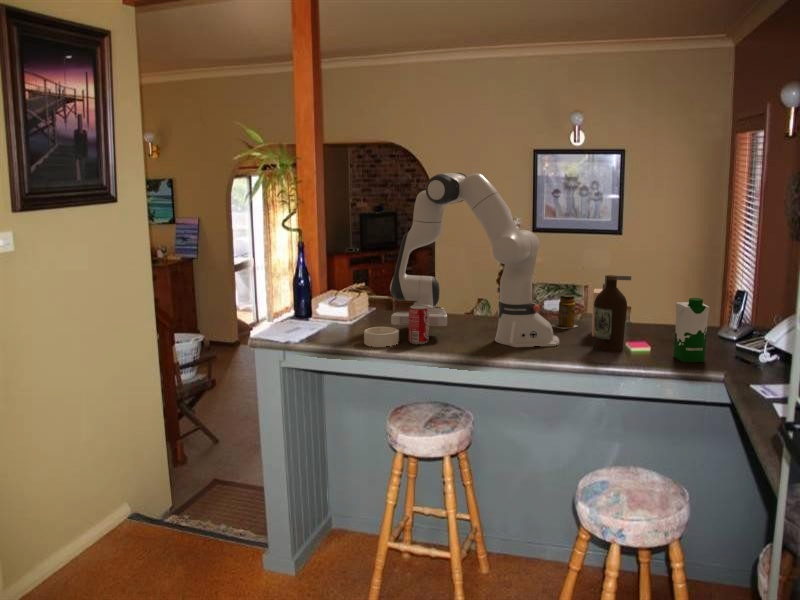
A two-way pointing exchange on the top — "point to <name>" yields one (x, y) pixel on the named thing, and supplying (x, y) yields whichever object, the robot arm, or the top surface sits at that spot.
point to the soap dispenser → (597, 291)
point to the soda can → (418, 324)
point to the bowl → (381, 336)
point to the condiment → (566, 312)
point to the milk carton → (691, 330)
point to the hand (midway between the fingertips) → (417, 323)
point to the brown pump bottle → (609, 317)
